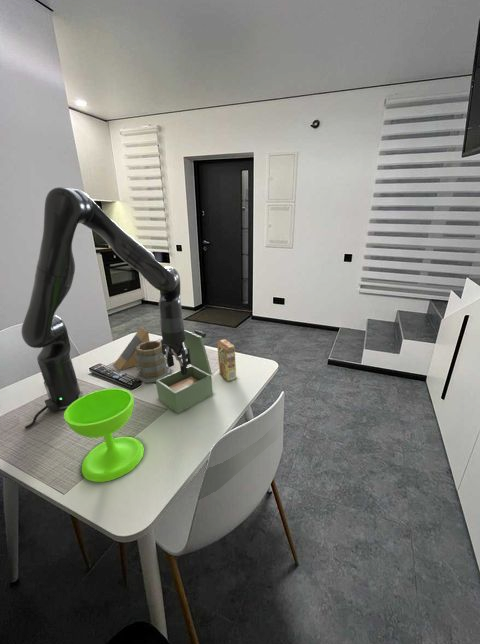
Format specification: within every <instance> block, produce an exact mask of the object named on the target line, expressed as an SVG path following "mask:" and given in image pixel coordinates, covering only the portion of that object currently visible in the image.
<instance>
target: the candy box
mask: <svg viewBox="0 0 480 644" xmlns="http://www.w3.org/2000/svg"><path fill="white" fill-rule="evenodd" d="M216 345H217V357H218V370H219V373H220V374H221V376H222V377H223V378H224V379H225V380H226V381H227V382H230V381H233V380H236V379H237V366H236V365H237V364H236V346H235V345H234V344H233V343H231V341H228V340H227V339H224V338H223V339H220V340H217V341H216Z"/></svg>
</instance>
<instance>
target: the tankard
mask: <svg viewBox="0 0 480 644" xmlns="http://www.w3.org/2000/svg"><path fill="white" fill-rule="evenodd" d="M166 350H167V348H165V351H166ZM135 357H136V360H138V365H136V368H137V371H138V373H137V376H136V377H137V380H138V381H141V382H142V383H145V384H148V383H149V384H151V383H156V380H158V379H160V378H163V377H165V376H167V375H170V373H171V372H170V371H171V369H170V368H171V367H168V364H167V358H166V357H165V354H164V355H163V353H162V344H161V340H159V341H158V340H150V341H147V342H144V343H141V344H139V345H137V347H136V354H135Z"/></svg>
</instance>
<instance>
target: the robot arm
mask: <svg viewBox="0 0 480 644" xmlns="http://www.w3.org/2000/svg"><path fill="white" fill-rule="evenodd" d="M43 212H44V213H43V231H42V238H41V244H40V248H39V254H38V259H37V263H36V268H35V272H34V281H33V286H32V290H31V295H30V301H29V305H28V308H27V311H26V314H25V317H24V319H23V322H22V326H21V331H20V332H21V338H22V340H23V342H24V343H25V344H26V345H27V346H28V347H31V348H34V349H41V350H40V352H39V353H38V355H37V357H36V360H37V364H38V367H39V369H40V370H39V371H40V373H41V375H42V379H43V384H44V388H45V391H46V394H47V397H48V398H47V399H44V400H43V401H44V404H45V406H44V407H43V408H41V409H40V410H39V411H38V412H37V413H36V414H35V415H34V417H33V418H32V419H33V420H32V422H31V423H28V425H25V427H24V429H26V430H27V429H29V428H31V427H33V426H34V425H35V423H36V422H37V419H38V417H39V416H40V415H41V414H42V413H43V412H45V411H46V410H47V409H48V411H49V412H50V413H53V412H57V411H60V410H61V411H63V410H66V409H67V407H68V406H69V405H70V404H72V403H73V402H74V401H76V400H77V399H79V398H80V397H82V396H83V391H82V390H81V389H80V385H79V381H78V378H77V374H76V371H75V368H74V364H73V361H72V358H71V342H70V338H69V337H70V336H69V333H68V328H67V326H66V324H65V322H64V320H62V319H61V317H60V316H58V315H56V311H57V310H58V308H59V307H60V305H61V304H62V302H63V301H64V300H65V298H66V297H67V296H68V294H69V292H70V290H71V287H72V285H73V280H74V277H75V272H76V262H75V258H74V257H75V256H74V253H73V240H74V236H75V232H76V229H77V227H78V225H79V224H82V226H84V227H87V229H90V230H91V231H93V232H94V233H96V234H97V235H99V236H100V237H101V238H102V240H104V242H106V244H107V245H108V246H109V248H110V249H111V250H112V251H113V252H114V253H115V254H116V256H118V257H119V258H120V259H121V260H122V261H123V262H125V263H126V264H127V265H128V266H130V267H131V268H133V269H134V270H135V271H137V272H138V273H140V275H141V276H142V277H143V279H145V280H146V281H147V282H148V283H149V284H150V285H151V286H152V287H153V288H155V289H156V290H157V291H159V300H158V310H159V325H160V332H161V333H160V334H161V339H160V341H161V344H162V353H163V355H164V354H165V358H166V359H167V367H169V368H171V367H173V366H175V361H174V360H176V361H177V362H178V363H179V365H180V366H179V368H180V370H181V374H182V375H185V374H187V373H188V370H187V367H188V365H189V366H190V365H191V359H190V351H189V348H185V346H184V340H185V330H186V329H185V322H184V318H183V309H182V302H181V277H180V274H179V272H178V270H176V269H175V268H174V267H172V266H164V265H162V264H161V263H160V262H159V261H157V260H156V256H155V255H154V254H153V253H152V252H151V251H149V250H148V249H147V248H146V247H145V246H143V245H142V244H141V243H139V242H138V240H136V239H134V238H133V237H132V236H131V235H129V234H128V233H127V232H126V231H125V230H124V229H123V228H122V227H120V226H119V225H118V224H117V223H116V222H115V221H113V220H112V218H110V216H108V214H107V213H105V212H104V210H103V209H102V208H101V207H100V206H99V205H98V204H97V203H96V202H95V201H94V200H93V199H92V198H91V197H90V196H89V195H88V194H87V193H86V192H85V191H83V190H81V189H78V188H75V187H65V186H57V187H54V188H52V189H50V190H49V191H48V192H47V194H46V197H45V200H44V211H43ZM184 329H185V330H184ZM165 348H167V350H166V349H165ZM174 358H175V359H174Z"/></svg>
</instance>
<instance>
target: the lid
mask: <svg viewBox="0 0 480 644" xmlns="http://www.w3.org/2000/svg"><path fill="white" fill-rule="evenodd" d="M184 330H185V340H184V342H183V346H184V348H189V351H190V359H191V364H190V366H191V365H192V366H194V367H196V368H198V369H200V370H201V371H203V372H205V373H207V374H209V375H211V376H212V375H213V373H212V368H211V365H210V361H209V357H208V354H207V350H206V346H205V343H204V339H205V338H206V337H207V333H205V332H203V331H201V330H198V329H195V330H194V331H193V332H192V331H190V330H187V329H185V328H184Z"/></svg>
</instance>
